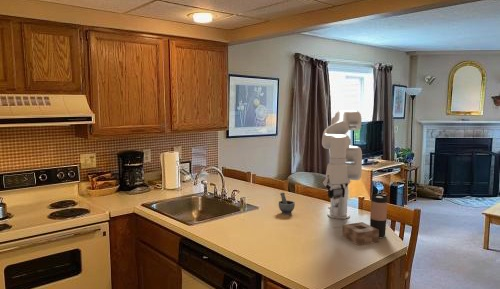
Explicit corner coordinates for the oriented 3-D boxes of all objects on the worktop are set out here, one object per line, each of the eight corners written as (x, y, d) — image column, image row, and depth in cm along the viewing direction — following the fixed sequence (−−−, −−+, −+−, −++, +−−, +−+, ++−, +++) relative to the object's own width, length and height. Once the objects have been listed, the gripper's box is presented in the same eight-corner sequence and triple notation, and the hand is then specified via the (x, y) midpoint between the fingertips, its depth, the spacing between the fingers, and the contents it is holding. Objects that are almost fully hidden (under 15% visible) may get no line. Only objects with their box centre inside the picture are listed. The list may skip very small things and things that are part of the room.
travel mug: (366, 233, 184) (368, 195, 182) (378, 231, 186) (380, 193, 184) (376, 238, 177) (378, 198, 174) (388, 236, 179) (391, 197, 177)
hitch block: (342, 236, 179) (342, 224, 178) (362, 233, 183) (362, 222, 183) (357, 245, 168) (358, 232, 167) (378, 241, 172) (379, 229, 172)
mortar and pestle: (297, 215, 214) (298, 195, 212) (284, 217, 209) (284, 196, 208) (287, 210, 224) (287, 191, 222) (274, 211, 219) (274, 192, 218)
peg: (327, 205, 181) (327, 187, 180) (337, 204, 183) (338, 187, 182) (333, 208, 176) (334, 190, 175) (344, 207, 178) (345, 189, 177)
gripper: (347, 159, 183) (346, 194, 185) (318, 160, 178) (317, 196, 180) (357, 161, 176) (355, 197, 178) (326, 163, 171) (325, 200, 173)
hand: (336, 196), depth 179 cm, fingers closed on peg, 6 cm apart
